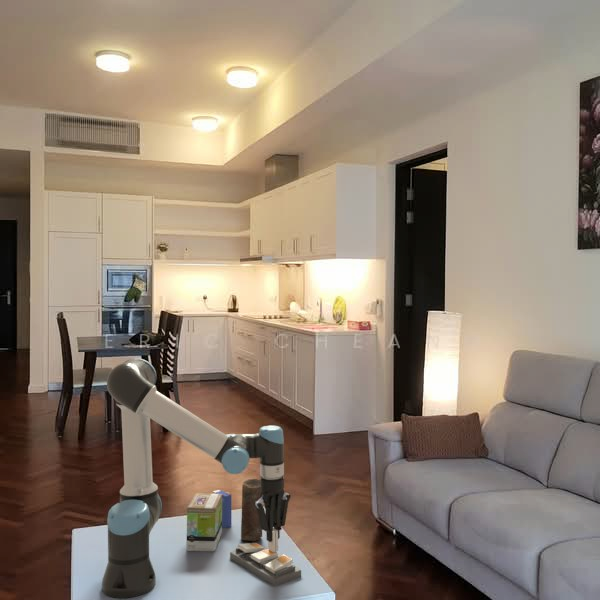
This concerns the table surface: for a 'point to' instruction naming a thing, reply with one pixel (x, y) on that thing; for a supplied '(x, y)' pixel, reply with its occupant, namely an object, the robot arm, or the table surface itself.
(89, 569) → the table surface
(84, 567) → the table surface
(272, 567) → the rocker near
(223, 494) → the walkman
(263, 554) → the rocker middle
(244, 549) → the rocker far
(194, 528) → the tea box
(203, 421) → the robot arm
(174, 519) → the table surface
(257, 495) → the brown weathered cylinder
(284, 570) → the rocker switch panel
